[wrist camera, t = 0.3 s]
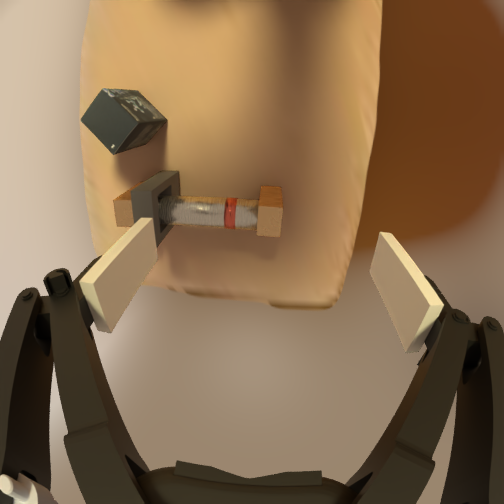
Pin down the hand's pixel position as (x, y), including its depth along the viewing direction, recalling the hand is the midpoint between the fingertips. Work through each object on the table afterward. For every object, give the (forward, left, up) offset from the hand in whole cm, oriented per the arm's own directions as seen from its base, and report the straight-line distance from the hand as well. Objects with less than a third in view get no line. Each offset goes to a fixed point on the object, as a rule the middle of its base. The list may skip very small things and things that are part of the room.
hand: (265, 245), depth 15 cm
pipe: (+6, -10, -28) cm, 30 cm away
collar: (+6, -16, -21) cm, 27 cm away
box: (-7, -21, -28) cm, 35 cm away
